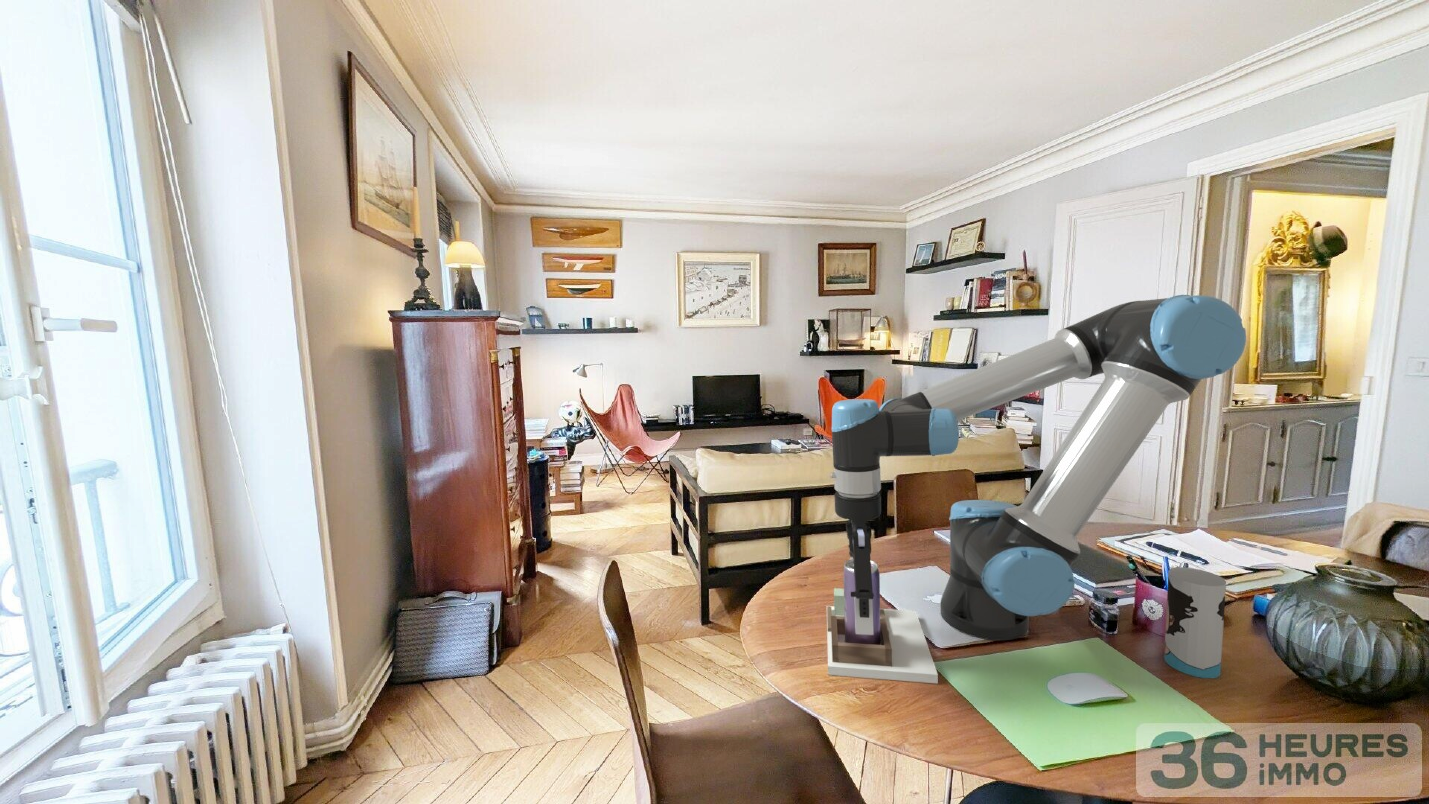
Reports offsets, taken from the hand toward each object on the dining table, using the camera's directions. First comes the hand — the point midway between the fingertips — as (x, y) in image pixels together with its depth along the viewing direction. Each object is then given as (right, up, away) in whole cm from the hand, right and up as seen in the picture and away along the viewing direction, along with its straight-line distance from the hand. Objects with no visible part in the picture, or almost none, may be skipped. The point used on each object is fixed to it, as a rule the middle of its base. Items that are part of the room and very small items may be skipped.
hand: (861, 611), depth 90 cm
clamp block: (+2, -5, +12) cm, 14 cm away
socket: (0, -7, +1) cm, 7 cm away
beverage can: (0, -7, +1) cm, 7 cm away
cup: (+52, -7, -6) cm, 52 cm away
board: (+4, -8, +4) cm, 9 cm away
